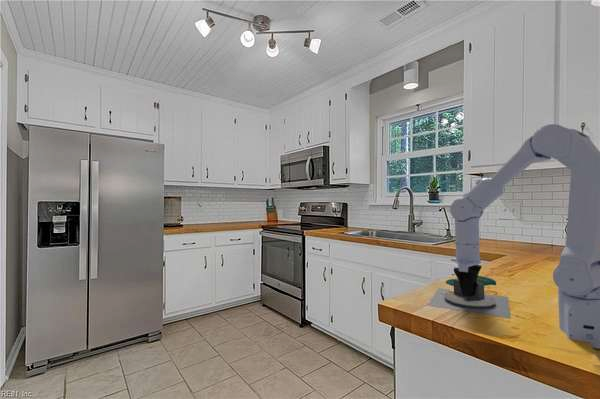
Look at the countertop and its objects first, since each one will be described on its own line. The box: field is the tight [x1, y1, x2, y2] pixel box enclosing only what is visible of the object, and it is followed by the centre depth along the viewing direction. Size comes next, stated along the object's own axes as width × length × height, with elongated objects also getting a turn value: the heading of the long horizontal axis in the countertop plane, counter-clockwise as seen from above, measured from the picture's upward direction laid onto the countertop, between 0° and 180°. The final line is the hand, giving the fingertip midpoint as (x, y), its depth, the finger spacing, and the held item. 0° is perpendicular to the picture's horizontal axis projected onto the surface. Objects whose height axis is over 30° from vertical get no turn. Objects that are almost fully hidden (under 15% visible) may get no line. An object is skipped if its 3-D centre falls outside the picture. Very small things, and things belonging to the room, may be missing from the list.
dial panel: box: [427, 287, 512, 320], centre depth 82 cm, size 18×18×1 cm
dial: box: [444, 278, 495, 308], centre depth 82 cm, size 12×12×5 cm
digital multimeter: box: [445, 275, 497, 287], centre depth 99 cm, size 7×15×3 cm, turn 109°
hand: (468, 293), depth 82 cm, fingers closed on dial, 4 cm apart
